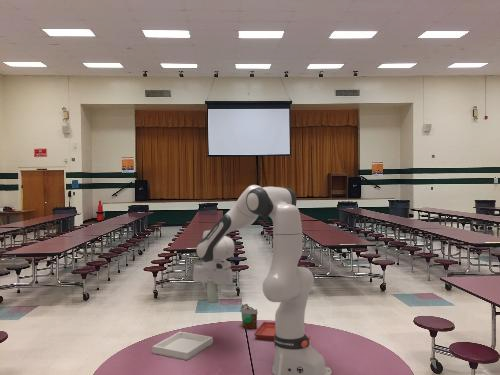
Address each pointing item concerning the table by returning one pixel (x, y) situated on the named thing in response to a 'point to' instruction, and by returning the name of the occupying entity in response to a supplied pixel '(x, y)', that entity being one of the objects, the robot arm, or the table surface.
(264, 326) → the plant saucer
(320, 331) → the table surface
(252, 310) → the food container
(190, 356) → the tray
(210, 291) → the cylinder
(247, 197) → the robot arm
